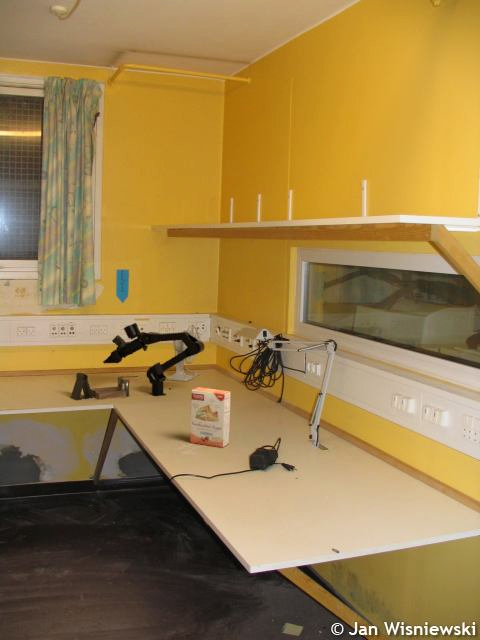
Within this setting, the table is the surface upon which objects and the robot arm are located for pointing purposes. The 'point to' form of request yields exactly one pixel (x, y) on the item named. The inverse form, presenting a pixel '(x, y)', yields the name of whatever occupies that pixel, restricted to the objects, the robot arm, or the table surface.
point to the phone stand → (81, 387)
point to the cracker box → (210, 417)
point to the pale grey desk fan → (180, 347)
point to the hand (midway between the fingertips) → (105, 360)
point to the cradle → (112, 390)
